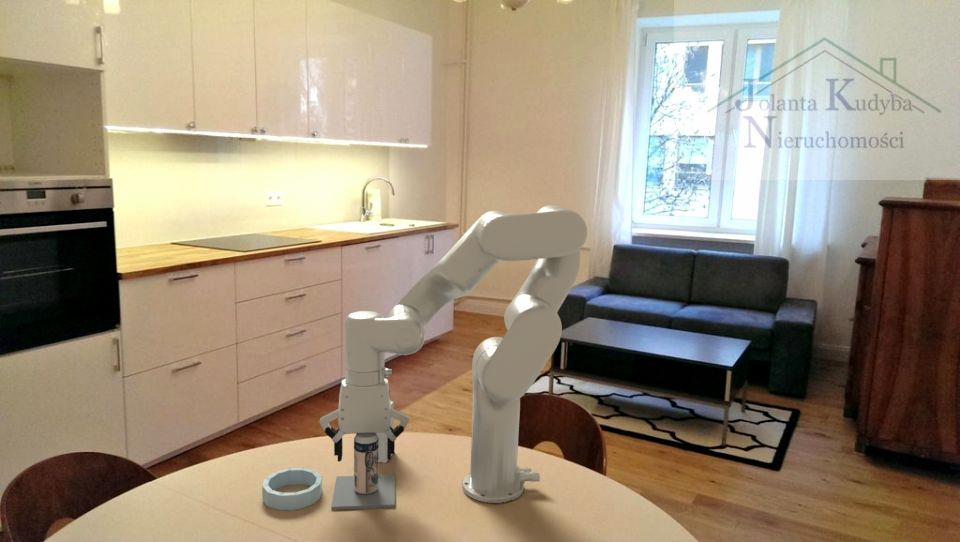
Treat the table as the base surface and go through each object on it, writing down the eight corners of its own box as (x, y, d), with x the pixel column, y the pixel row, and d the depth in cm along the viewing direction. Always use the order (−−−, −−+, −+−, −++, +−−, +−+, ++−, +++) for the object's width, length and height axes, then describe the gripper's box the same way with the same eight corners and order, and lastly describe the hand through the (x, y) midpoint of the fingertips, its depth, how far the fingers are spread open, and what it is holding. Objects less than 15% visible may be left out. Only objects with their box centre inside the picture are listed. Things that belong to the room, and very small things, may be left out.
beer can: (373, 497, 130) (373, 440, 128) (350, 494, 131) (350, 437, 128) (381, 485, 134) (381, 430, 132) (359, 482, 135) (359, 427, 133)
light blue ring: (324, 480, 137) (324, 467, 136) (318, 508, 126) (318, 494, 125) (269, 482, 135) (268, 468, 135) (258, 511, 125) (257, 496, 124)
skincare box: (386, 463, 145) (386, 411, 143) (366, 461, 146) (367, 409, 144) (395, 451, 151) (395, 401, 149) (376, 449, 152) (376, 399, 150)
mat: (394, 477, 139) (394, 474, 139) (394, 507, 127) (394, 504, 127) (336, 479, 138) (336, 476, 137) (331, 509, 126) (331, 506, 126)
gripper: (409, 368, 133) (408, 448, 136) (321, 369, 131) (322, 450, 134) (410, 381, 126) (409, 465, 129) (317, 382, 123) (318, 468, 126)
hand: (364, 457), depth 131 cm, fingers open, 9 cm apart
